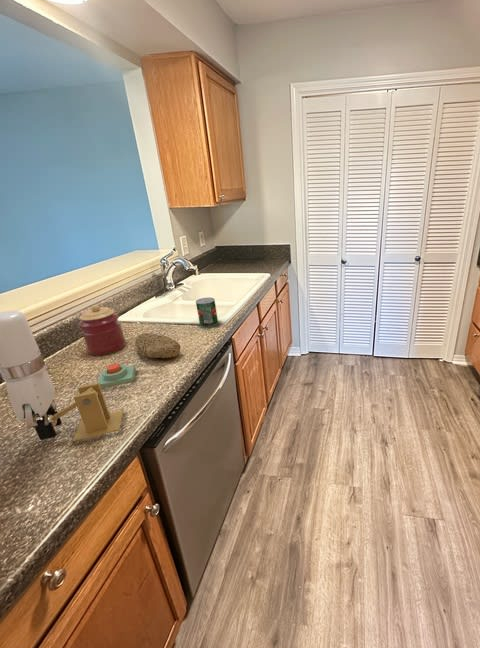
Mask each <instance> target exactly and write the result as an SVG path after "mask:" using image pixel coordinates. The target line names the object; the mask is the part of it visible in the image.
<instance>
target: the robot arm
mask: <svg viewBox="0 0 480 648" xmlns="http://www.w3.org/2000/svg"><path fill="white" fill-rule="evenodd" d="M46 368H47V365H46V362H45V360H44V357H43V355H42V353H41V350H40V347H39V346H38V343H37V341H36V338H35V335H34V333H33V331H32V329H31V326H30V324H29V321H28V319H27V317H26V315H25V314H24V313H23V312H21V311H18V310H5V311H0V375H1V377H2V379H3V381H5V388H6V392H7V396H8V399H9V401H10V405H11V407H12V409H13V411H14V414H15V416H16V419H17V420H18V421H19V422H23V421H25V424H26V428H28V429H29V428H33V429H34V430H35V432H36V434H37V437H38V439H39V440H40V441H44V440H48V439H53V438H56V436H57V432H56V429H55V427H58V426H61V425H62V424H63V421H62V419H61V417H60V418H58V419H57V423H56V425H55V426H54V427H53V425H52V423H51V422H49V420H48V417H47V414H51V415H55V414H56V413H58V412H59V411H58V410H57V405H56V404H55V397H56V389H55V385H54V384H53V381H52V378H51V377H50V375H49V373H48V371H47V369H46ZM41 417H42V419H43V420H41V419H40V418H41ZM37 418H39V419H40V420H39V419H37Z"/></svg>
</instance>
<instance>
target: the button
mask: <svg viewBox="0 0 480 648" xmlns="http://www.w3.org/2000/svg"><path fill="white" fill-rule="evenodd" d="M120 365H121V364H120V363H118V362H117V363H116V362H115V363H111V364H109V365H108V366H107V367H106V369H107V371H108V373H109V374H113V373H116V372H119V371H120V370H121V367H120Z"/></svg>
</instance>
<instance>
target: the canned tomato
mask: <svg viewBox="0 0 480 648" xmlns="http://www.w3.org/2000/svg"><path fill="white" fill-rule="evenodd" d="M195 306H196V311H197V316H198V322H199V326H200V327H201V328H213V327H216V326H218V324H219V319H218V318H219V317H218V312H217V306H216V301H215V298H214V297H201V298H199V299H197V300H195Z"/></svg>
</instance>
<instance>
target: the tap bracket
mask: <svg viewBox="0 0 480 648" xmlns="http://www.w3.org/2000/svg"><path fill="white" fill-rule="evenodd" d="M90 387H92V388H93V389H94V390H95V391H92V392H87V393H83V392H84V391H86V390H87V389H89V388H90ZM77 390H78V392H79V394H74V396H73V400H74V402H76V405H77V407H76V408H77V411H78V412H79V416H80V418H81V420H80V421H79V424H78V426H77V428H76V431H75V434H74V436H73V439H72V442H78V441H81V440H85V439H90V438H95V437H97V436H101V435H105V434H110V433H113V432H118V431H120V429H121V424H122V419H123V415H124V409H123V410H122V409H121V410H117V411H114V412H113V411H112V412H110V410H109V407H108V404H107V402H106V399H105V398H106V397H105V395H104V392H103V390H102V388H101V387H100V384H99V382H97V381H96V382H92V383H88V384H83V385H79V386H78V388H77ZM96 391H97V392H98V396H97V393H96ZM81 393H83V394H81Z"/></svg>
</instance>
